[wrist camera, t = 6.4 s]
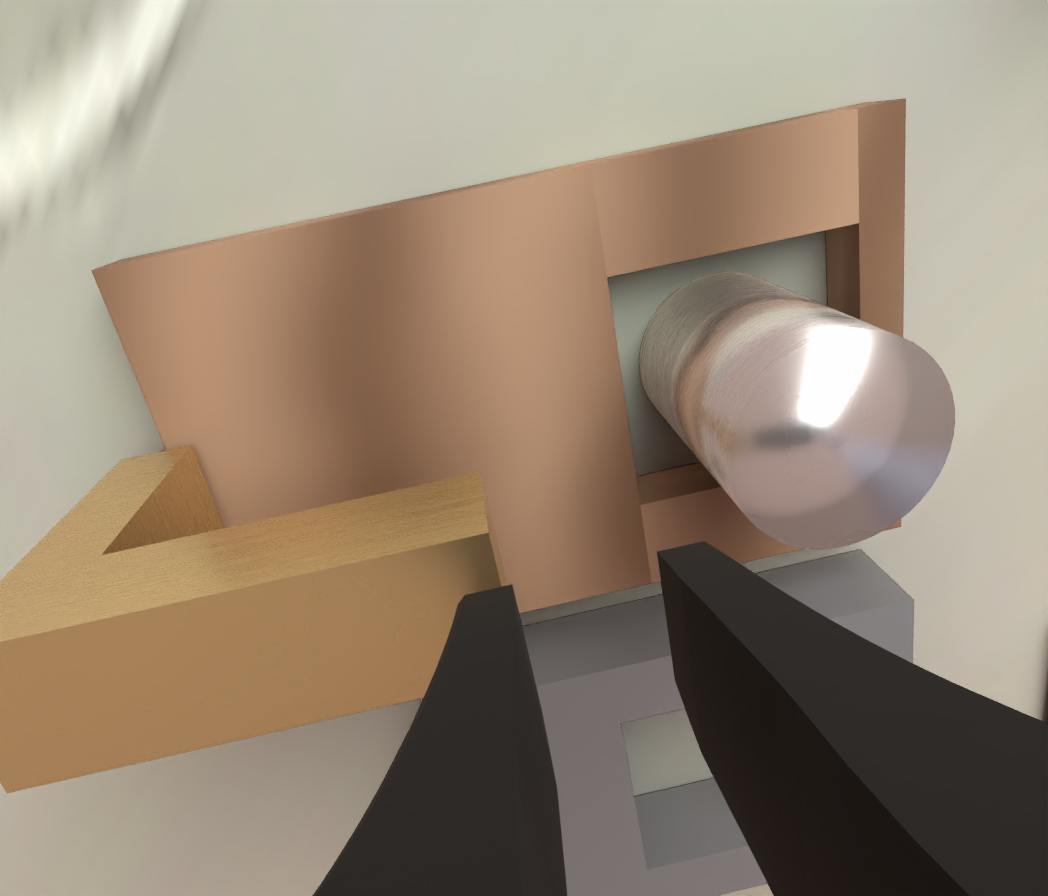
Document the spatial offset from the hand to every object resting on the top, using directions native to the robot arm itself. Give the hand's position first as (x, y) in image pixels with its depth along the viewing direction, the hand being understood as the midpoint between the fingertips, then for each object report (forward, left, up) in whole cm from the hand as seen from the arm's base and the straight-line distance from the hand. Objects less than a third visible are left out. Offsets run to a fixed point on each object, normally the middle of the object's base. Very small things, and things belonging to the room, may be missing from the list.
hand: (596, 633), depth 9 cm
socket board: (-1, 0, -9) cm, 9 cm away
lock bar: (+5, 0, -8) cm, 9 cm away
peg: (-5, 0, -9) cm, 11 cm away
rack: (-3, +11, -9) cm, 15 cm away
